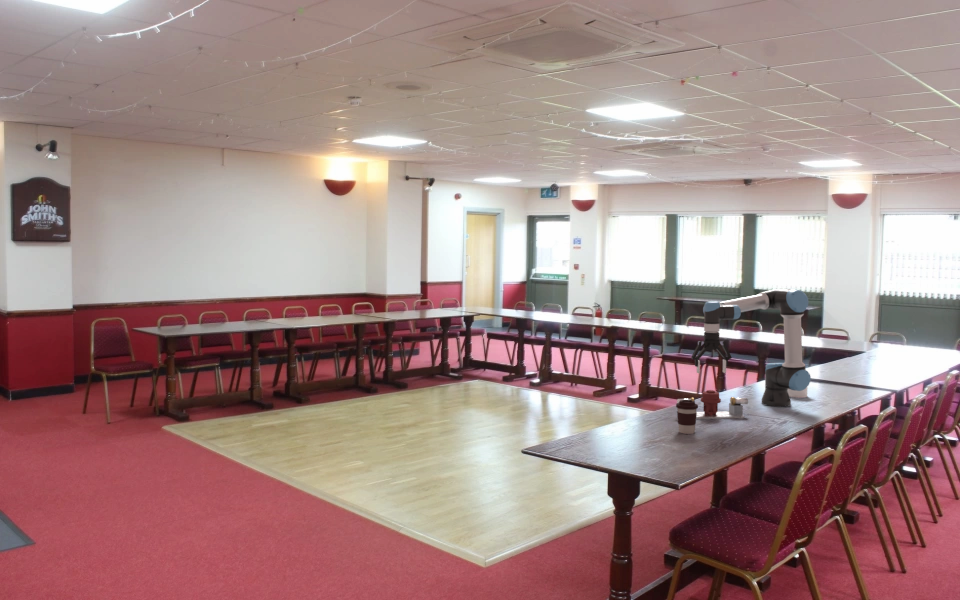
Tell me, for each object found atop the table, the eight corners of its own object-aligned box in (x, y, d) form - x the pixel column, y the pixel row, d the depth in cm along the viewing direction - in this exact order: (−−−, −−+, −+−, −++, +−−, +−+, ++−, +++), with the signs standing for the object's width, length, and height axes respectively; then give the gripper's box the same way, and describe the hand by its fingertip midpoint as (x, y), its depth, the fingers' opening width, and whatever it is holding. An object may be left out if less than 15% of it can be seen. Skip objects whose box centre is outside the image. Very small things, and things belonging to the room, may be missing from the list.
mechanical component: (719, 412, 393) (721, 416, 384) (699, 411, 395) (701, 416, 386) (719, 389, 392) (722, 392, 383) (699, 388, 394) (701, 392, 385)
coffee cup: (701, 432, 356) (701, 400, 355) (690, 436, 349) (691, 404, 348) (682, 428, 363) (683, 398, 362) (671, 432, 356) (672, 401, 355)
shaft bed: (742, 413, 396) (742, 394, 395) (751, 418, 384) (751, 399, 383) (674, 414, 395) (674, 395, 394) (681, 419, 383) (681, 400, 382)
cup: (781, 395, 441) (782, 375, 440) (791, 393, 449) (791, 373, 448) (801, 398, 432) (802, 378, 432) (810, 395, 440) (811, 375, 439)
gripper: (733, 330, 391) (732, 371, 392) (685, 331, 390) (685, 371, 391) (738, 332, 383) (737, 373, 385) (689, 332, 382) (689, 374, 384)
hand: (711, 372), depth 388 cm, fingers open, 13 cm apart
